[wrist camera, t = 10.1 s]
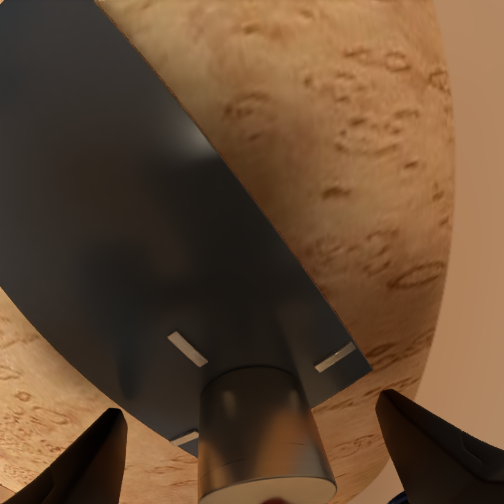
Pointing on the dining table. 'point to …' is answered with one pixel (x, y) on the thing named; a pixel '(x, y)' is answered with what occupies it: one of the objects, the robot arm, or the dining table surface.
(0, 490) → the cup
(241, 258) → the panel
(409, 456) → the robot arm
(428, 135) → the dining table surface
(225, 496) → the dial
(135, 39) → the dining table surface
